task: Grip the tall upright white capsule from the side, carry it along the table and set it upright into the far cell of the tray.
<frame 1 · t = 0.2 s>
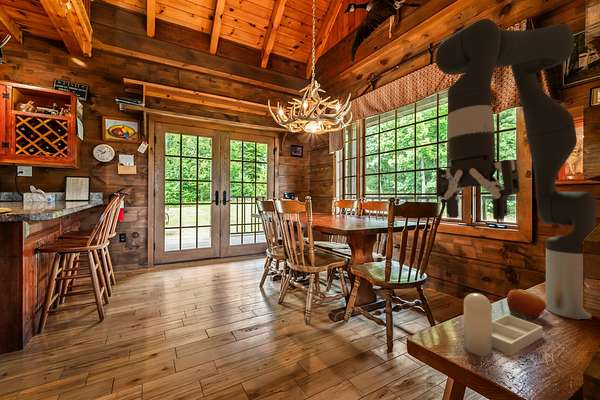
hand: (474, 218, 52), 29 cm above the table, tool pointing down, fingers open, 8 cm apart
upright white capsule: (477, 349, 57), on the table
fruit: (525, 316, 72), on the table
tray: (508, 337, 61), on the table
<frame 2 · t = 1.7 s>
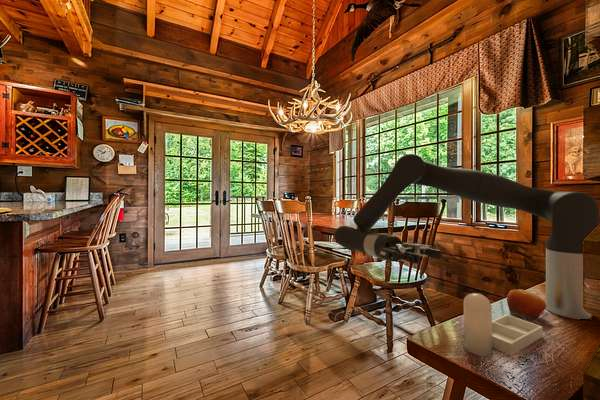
hand: (430, 257, 67), 18 cm above the table, tool horizontal, fingers open, 8 cm apart
nothing on the table moved.
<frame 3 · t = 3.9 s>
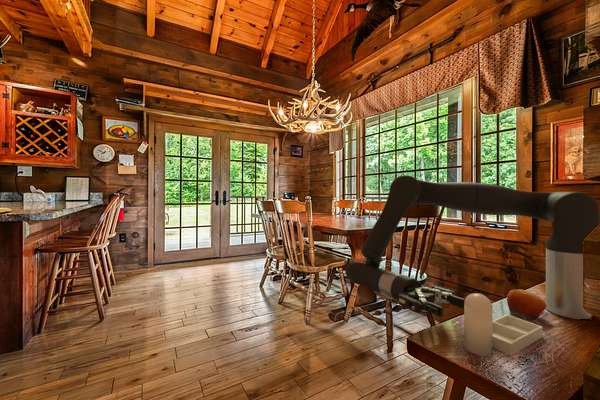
hand: (454, 308, 62), 7 cm above the table, tool horizontal, fingers open, 8 cm apart
nothing on the table moved.
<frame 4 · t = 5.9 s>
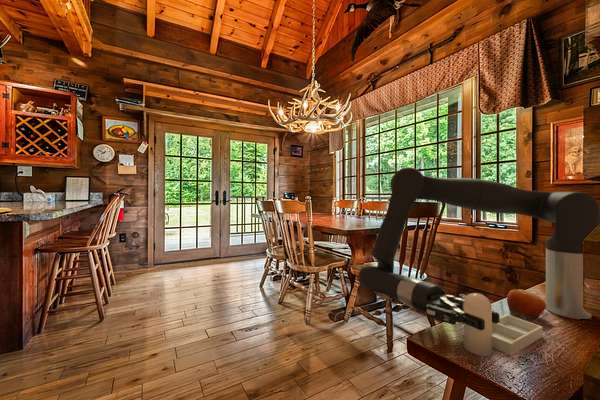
hand: (491, 321, 55), 7 cm above the table, tool horizontal, fingers closed on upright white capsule, 5 cm apart
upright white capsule: (477, 349, 57), on the table, touching gripper
everything else where it was.
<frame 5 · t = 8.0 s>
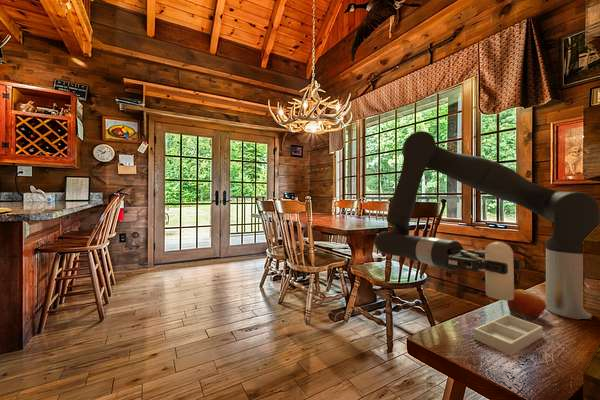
hand: (513, 267, 56), 18 cm above the table, tool horizontal, fingers closed on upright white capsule, 5 cm apart
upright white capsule: (499, 295, 59), point 11 cm above the table, touching gripper
everything else where it was.
when the fingers open (9 cm above the table, at t = 10.3 s): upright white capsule drops 1 cm, resting on tray.
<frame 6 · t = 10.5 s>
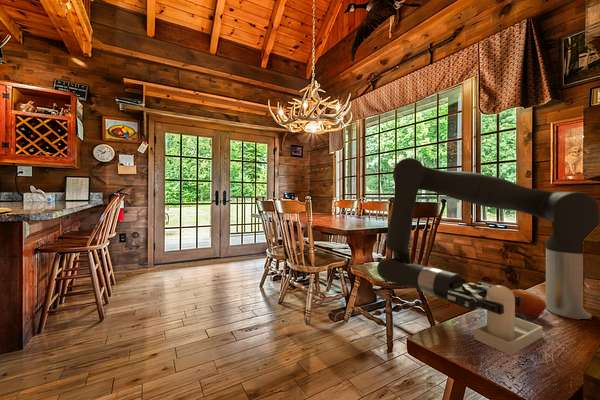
hand: (512, 305, 58), 9 cm above the table, tool horizontal, fingers open, 7 cm apart
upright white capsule: (500, 339, 60), point 1 cm above the table, touching tray
everything else where it was.
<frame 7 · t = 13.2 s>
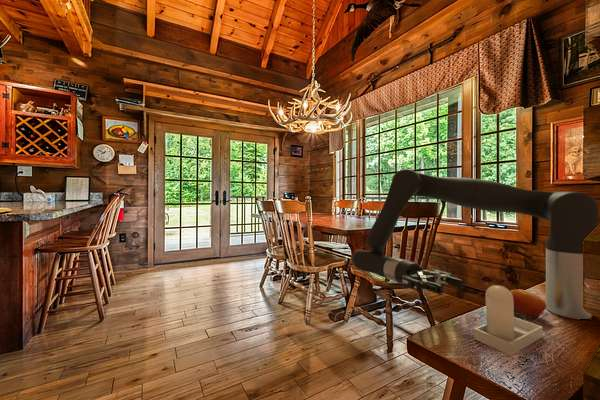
hand: (452, 287, 69), 9 cm above the table, tool horizontal, fingers open, 8 cm apart
nothing on the table moved.
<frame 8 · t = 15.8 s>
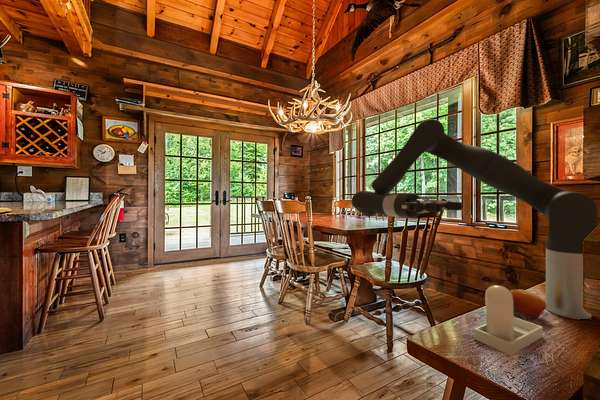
hand: (451, 206, 69), 30 cm above the table, tool horizontal, fingers open, 8 cm apart
nothing on the table moved.
at the end: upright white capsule 0.1 cm from the target spot on the tray, point 0.6 cm above the tray's base; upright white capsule tilted 1°; the gripper is holding nothing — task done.
